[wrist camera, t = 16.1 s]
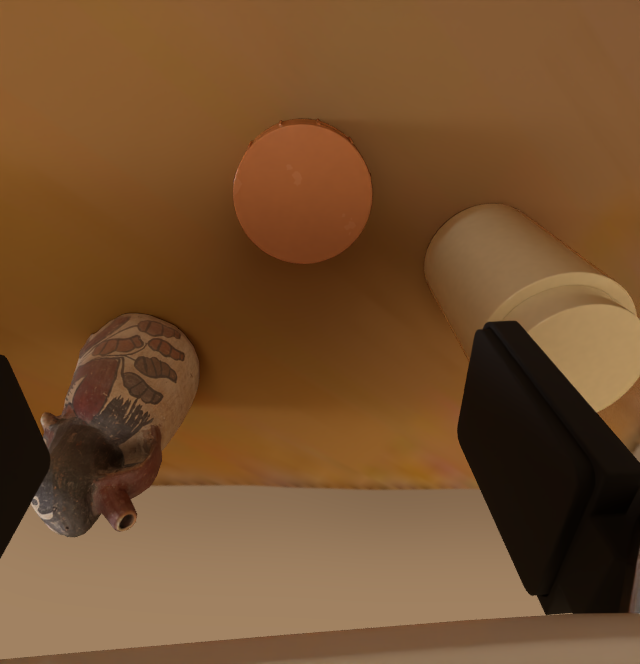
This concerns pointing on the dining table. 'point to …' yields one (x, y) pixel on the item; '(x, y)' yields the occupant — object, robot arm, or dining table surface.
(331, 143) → the jar lid
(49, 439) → the figurine
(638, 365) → the honey jar
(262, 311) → the dining table surface
